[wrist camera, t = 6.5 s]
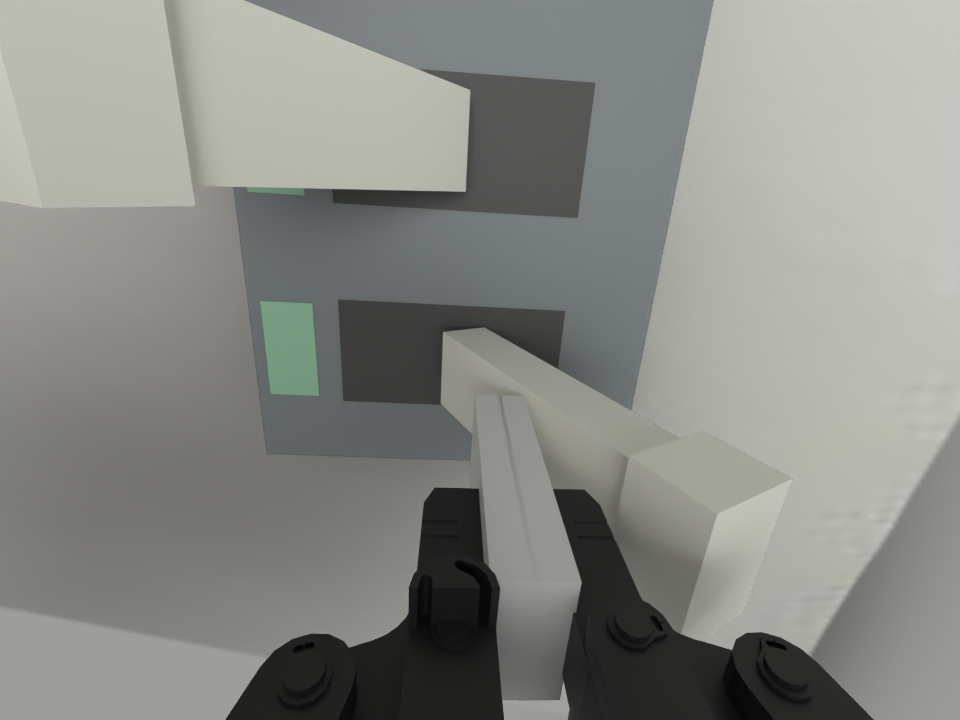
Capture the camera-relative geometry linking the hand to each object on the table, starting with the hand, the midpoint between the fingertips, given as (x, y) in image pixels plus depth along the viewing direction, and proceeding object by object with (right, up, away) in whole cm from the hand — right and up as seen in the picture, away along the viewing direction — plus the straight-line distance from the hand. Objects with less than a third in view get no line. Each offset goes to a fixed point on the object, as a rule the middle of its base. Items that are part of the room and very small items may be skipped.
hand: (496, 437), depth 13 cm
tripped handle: (-2, +2, +6) cm, 6 cm away
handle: (-1, +10, +3) cm, 10 cm away
